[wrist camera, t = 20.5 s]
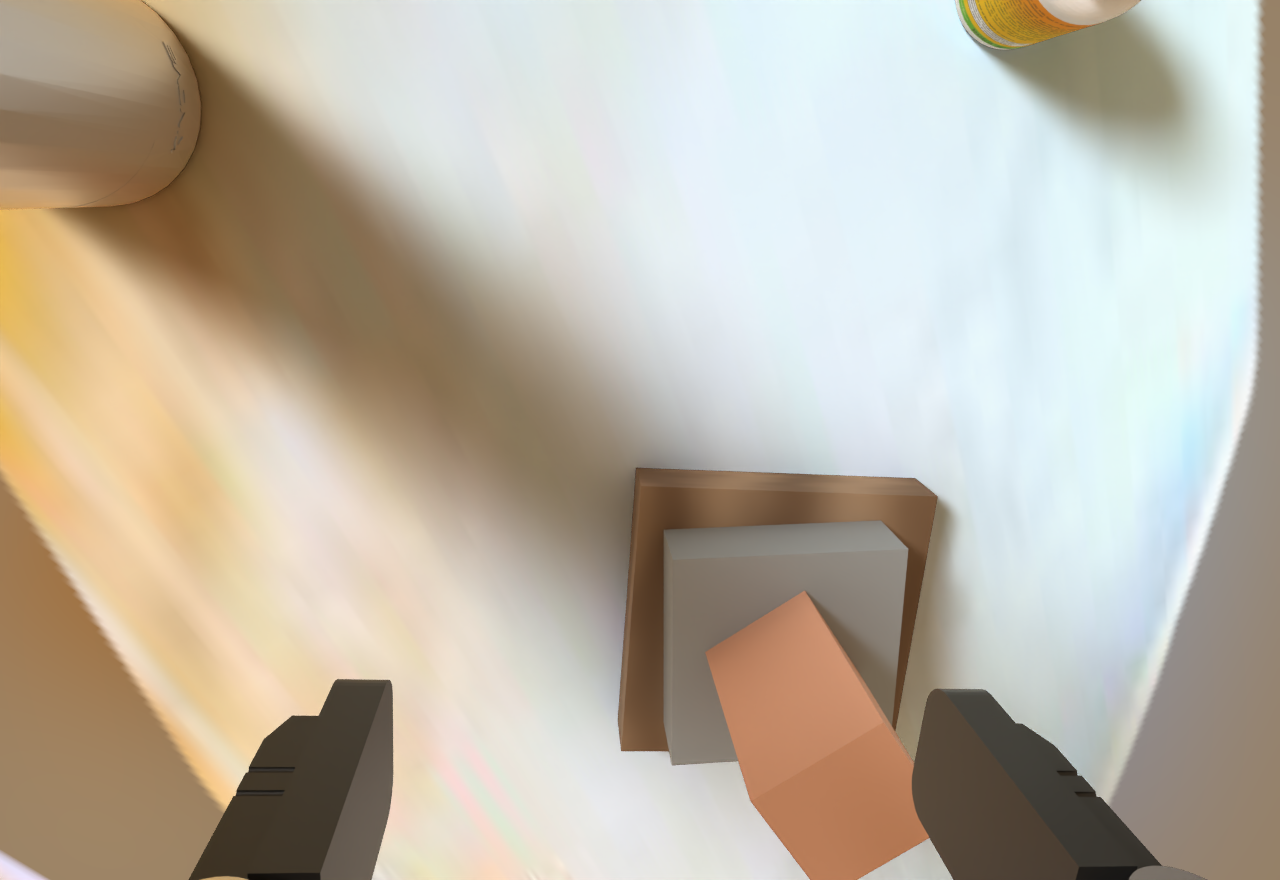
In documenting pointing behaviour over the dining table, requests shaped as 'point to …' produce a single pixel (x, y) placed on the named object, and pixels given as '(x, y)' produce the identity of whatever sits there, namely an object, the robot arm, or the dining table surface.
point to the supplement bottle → (1033, 19)
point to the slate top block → (757, 584)
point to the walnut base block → (746, 503)
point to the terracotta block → (815, 745)
